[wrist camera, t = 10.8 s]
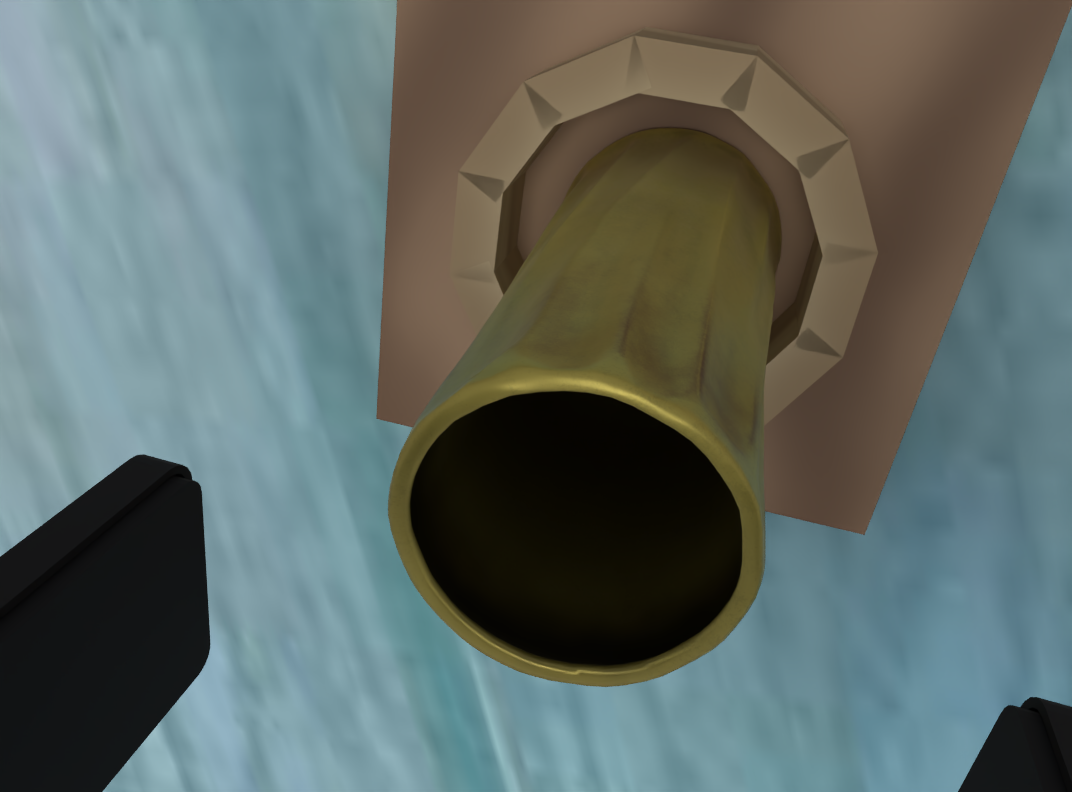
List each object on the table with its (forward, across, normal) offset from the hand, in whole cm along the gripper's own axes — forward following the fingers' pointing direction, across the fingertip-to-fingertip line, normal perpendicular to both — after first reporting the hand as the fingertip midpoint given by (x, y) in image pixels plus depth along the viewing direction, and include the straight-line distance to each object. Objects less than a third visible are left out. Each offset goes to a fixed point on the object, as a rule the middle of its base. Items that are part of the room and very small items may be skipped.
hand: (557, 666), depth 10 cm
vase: (+16, +1, 0) cm, 17 cm away
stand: (+18, +1, 0) cm, 18 cm away
